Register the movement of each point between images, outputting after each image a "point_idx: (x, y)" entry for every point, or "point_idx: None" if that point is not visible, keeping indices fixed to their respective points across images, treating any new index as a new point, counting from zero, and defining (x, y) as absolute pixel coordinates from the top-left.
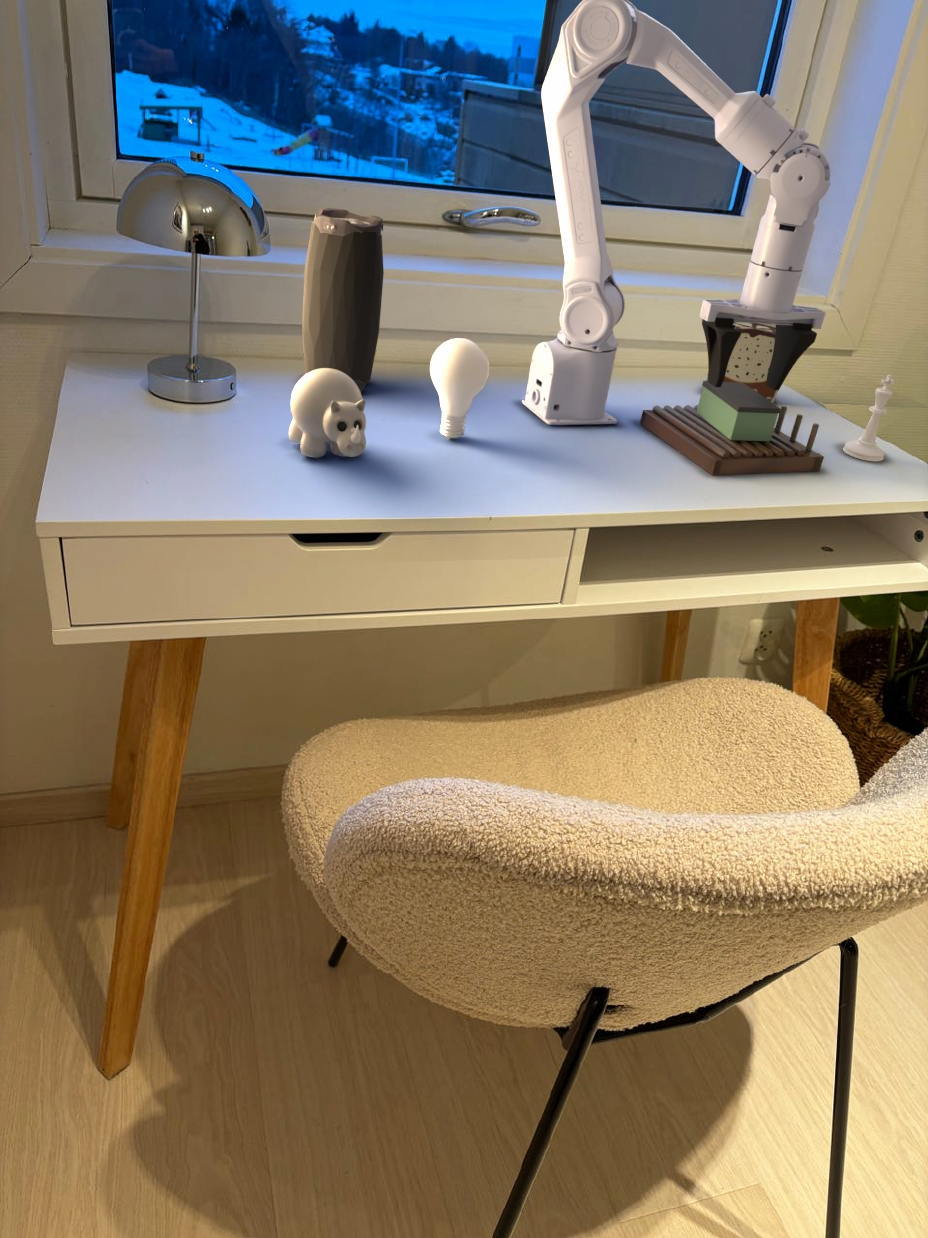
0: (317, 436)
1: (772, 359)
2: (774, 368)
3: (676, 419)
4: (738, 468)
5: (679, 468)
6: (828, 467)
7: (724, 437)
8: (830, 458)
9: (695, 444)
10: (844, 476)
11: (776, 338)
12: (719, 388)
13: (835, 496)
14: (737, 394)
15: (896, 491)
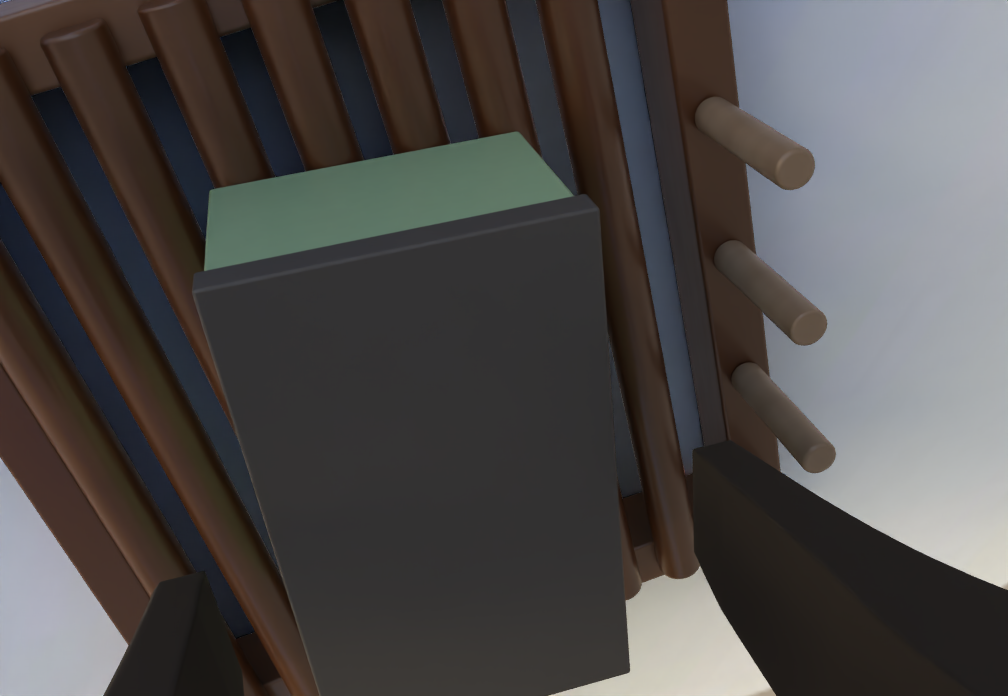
0: None
1: (804, 558)
2: (766, 580)
3: (20, 375)
4: None
5: (44, 669)
6: (832, 426)
7: None
8: (917, 311)
9: (121, 614)
10: (842, 500)
11: (933, 686)
12: (301, 456)
13: (680, 688)
14: (417, 534)
15: (963, 570)
